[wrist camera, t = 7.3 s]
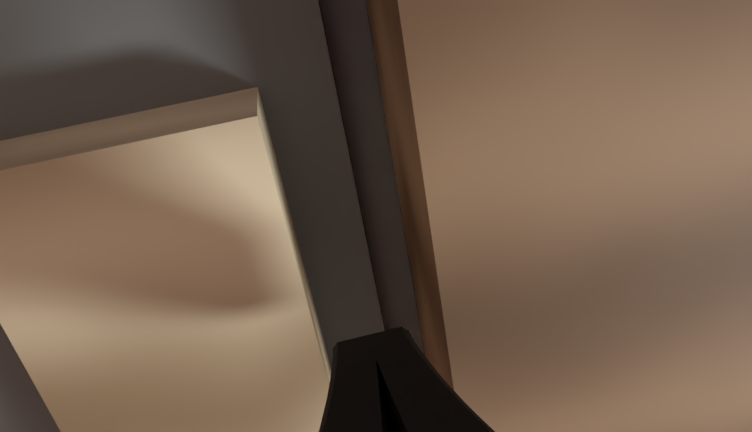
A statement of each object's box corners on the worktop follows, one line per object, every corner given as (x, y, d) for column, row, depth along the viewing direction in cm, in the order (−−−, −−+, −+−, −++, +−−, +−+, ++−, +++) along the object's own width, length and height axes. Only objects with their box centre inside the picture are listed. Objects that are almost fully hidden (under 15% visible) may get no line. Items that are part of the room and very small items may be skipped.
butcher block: (849, 374, 21) (966, 469, 18) (445, 477, 20) (484, 599, 17) (1013, -295, 13) (1297, -366, 9) (337, -170, 12) (369, -197, 8)
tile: (107, 515, 16) (123, 451, 17) (347, 455, 16) (339, 399, 18) (-76, 186, 11) (-31, 147, 13) (257, 115, 12) (257, 86, 13)
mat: (413, 474, 20) (415, 485, 20) (-90, 602, 19) (-96, 616, 19) (290, -131, 12) (291, -132, 12) (-583, 33, 11) (-611, 37, 11)
